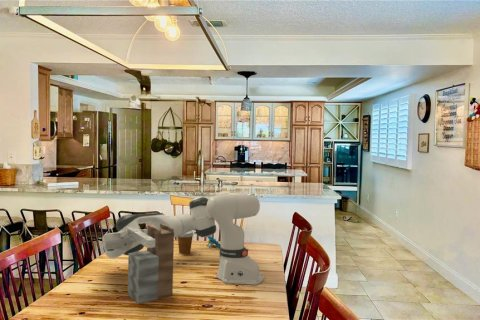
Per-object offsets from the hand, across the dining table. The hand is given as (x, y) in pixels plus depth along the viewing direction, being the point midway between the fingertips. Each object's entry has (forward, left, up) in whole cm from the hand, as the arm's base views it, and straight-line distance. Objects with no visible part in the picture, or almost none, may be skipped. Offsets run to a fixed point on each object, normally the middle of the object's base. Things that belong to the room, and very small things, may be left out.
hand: (133, 231), depth 154 cm
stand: (-11, +2, -25) cm, 27 cm away
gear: (-9, -74, -25) cm, 79 cm away
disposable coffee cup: (+2, -57, -25) cm, 62 cm away
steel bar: (-6, +4, -2) cm, 8 cm away
